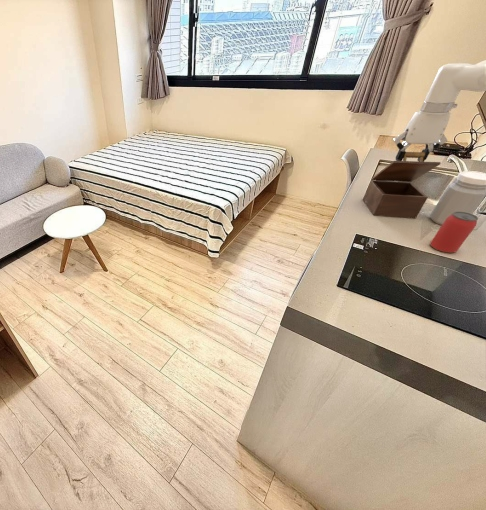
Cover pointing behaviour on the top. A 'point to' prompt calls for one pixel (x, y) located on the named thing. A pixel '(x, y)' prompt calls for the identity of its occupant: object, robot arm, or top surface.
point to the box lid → (406, 168)
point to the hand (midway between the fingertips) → (409, 161)
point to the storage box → (394, 199)
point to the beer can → (454, 232)
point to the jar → (461, 196)
